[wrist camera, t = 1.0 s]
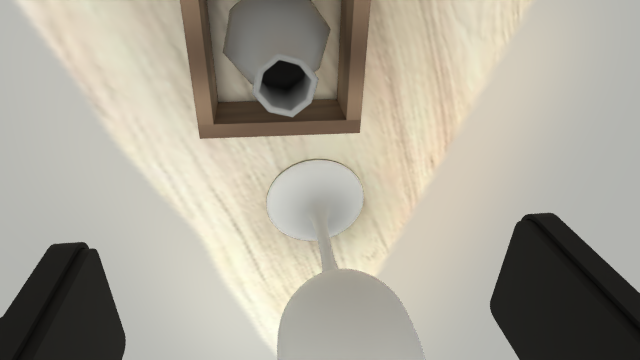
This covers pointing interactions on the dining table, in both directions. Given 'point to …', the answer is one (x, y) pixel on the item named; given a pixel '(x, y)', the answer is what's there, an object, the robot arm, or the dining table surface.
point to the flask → (277, 50)
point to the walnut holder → (253, 115)
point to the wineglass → (334, 275)
